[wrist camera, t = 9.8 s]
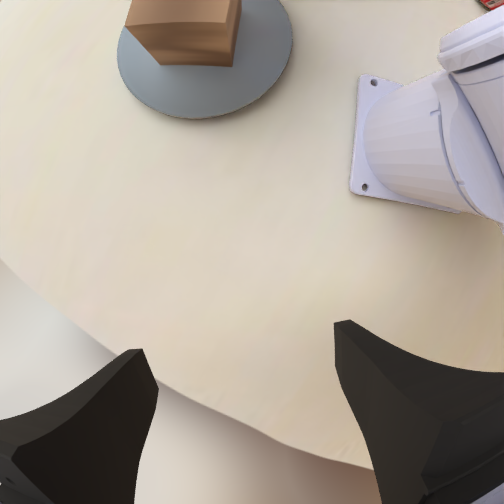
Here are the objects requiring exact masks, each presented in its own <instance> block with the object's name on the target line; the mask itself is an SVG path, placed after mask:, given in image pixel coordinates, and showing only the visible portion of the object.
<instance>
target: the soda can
mask: <svg viewBox="0 0 504 504" xmlns="http://www.w3.org/2000/svg"><path fill="white" fill-rule="evenodd" d="M479 1H480V2H481V3H482V4H484V5H485V6H486V7H488V8H489V9H491V10H494V9H496V8H498V7H500V6H502V5H504V0H479Z"/></svg>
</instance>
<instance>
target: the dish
mask: <svg viewBox="0 0 504 504" xmlns="http://www.w3.org/2000/svg"><path fill="white" fill-rule="evenodd" d="M291 47H292V28H291V23H290V20H289V17H288V15H287V13H286V11H285V9H284V7H283V6H282V5H281V3H280V2H279V1H278V0H242V11H241V17H240V23H239V28H238V34H237V40H236V46H235V53H234V59H233V65H232V67H221V66H201V65H159V64H158V62H157V61H156V60H155V59H154V58H153V57H152V56H151V55H150V54H149V52H148V51H147V50H146V49H145V48H144V47H143V46H142V45H141V44H140V43H139V41H138V40H137V39H136V38H135V37H134V36H133V35H132V34H131V33H130V32H129V31H128V30H127V28H126V27H125V25H124V27H123V30H122V32H121V35H120V38H119V42H118V48H117V62H118V68H119V71H120V74H121V77H122V79H123V81H124V83H125V85H126V86H127V88H128V89H129V90H130V92H131V93H132V94H133V95H134V96H135V97H136V98H137V99H138V100H140V101H141V102H143V103H144V104H145V105H147V106H149V107H150V108H152V109H154V110H156V111H158V112H161V113H163V114H166V115H169V116H174V117H178V118H188V119H204V118H211V117H217V116H221V115H225V114H228V113H231V112H234V111H236V110H239V109H241V108H243V107H245V106H247V105H249V104H251V103H252V102H254V101H255V100H257V99H258V98H260V97H261V96H262V95H263V94H264V93H266V92H267V91H268V90H269V89H270V88H271V87H272V86H273V85H274V83H275V82H276V81H277V79H278V78H279V77H280V75H281V74H282V72H283V70H284V68H285V66H286V64H287V61H288V58H289V55H290V52H291Z"/></svg>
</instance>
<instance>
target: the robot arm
mask: <svg viewBox="0 0 504 504" xmlns="http://www.w3.org/2000/svg"><path fill="white" fill-rule="evenodd" d="M440 51H441V52H440V53H439V54H438V55H437V59H438V61H439V62H440V64H441V65H442V66H443V68H444V69H442V70H439V71H437V72H435V73H432V74H430V75H428V76H425V77H423V78H421V79H418V80H416V81H414V82H412V83H409V84H407V85H405V86H404V85H401V84H398V83H395V82H392V81H389V80H386V79H382V78H379V77H375V76H372V75H368V74H363V75H361V76H360V77H359V79H358V93H357V109H356V123H355V135H354V146H353V156H352V165H351V174H350V182H349V188H350V191H351V192H352V193H354V194H358V195H364V196H370V197H376V198H382V199H388V200H393V201H398V202H404V203H409V204H414V205H419V206H424V207H429V208H434V209H438V210H443V211H447V212H452V213H456V214H459V213H461V212H462V211H464V212H467V213H471V214H474V215H478V216H481V217H484V218H488V219H491V220H493V221H495V222H496V223H497V224H498V225H499V227H500V229H501V231H502V234H503V235H504V5H502V6H500V7H498V8H496V9H494V10H492V11H490V12H488V13H486V14H484V15H482V16H480V17H478V18H476V19H474V20H472V21H470V22H468V23H467V24H465V25H463V26H461V27H459V28H457V29H456V30H454V31H452V32H450V33H449V34H447V35H445V36H444V37H442V38H441V39H440ZM371 81H374V82H375V85H376V86H372V84H371ZM363 184H366V185H367V189H366V191H363V190H362V185H363ZM334 339H335V367H336V371H337V374H338V377H339V381H340V384H341V387H342V390H343V392H344V394H345V396H346V398H347V401H348V403H349V405H350V407H351V409H352V411H353V413H354V416H355V418H356V420H357V422H358V424H359V426H360V429H361V431H362V433H363V436H364V438H365V441H366V444H367V447H368V451H369V454H370V457H371V461H372V464H373V468H374V472H375V475H376V479H377V483H378V487H379V492H380V496H381V500H382V504H504V373H502V372H481V371H473V370H466V369H460V368H455V367H451V366H447V365H443V364H439V363H436V362H433V361H430V360H427V359H424V358H421V357H419V356H416V355H413V354H411V353H409V352H407V351H404V350H402V349H400V348H398V347H396V346H394V345H392V344H390V343H388V342H387V341H385V340H383V339H381V338H380V337H378V336H376V335H375V334H373V333H371V332H370V331H368V330H366V329H365V328H363V327H362V326H360V325H358V324H357V323H355V322H353V321H352V320H345V321H340V322H335V323H334ZM158 390H159V388H158V386H157V383H156V381H155V379H154V376H153V374H152V372H151V369H150V367H149V364H148V362H147V359H146V357H145V354H144V352H143V349H129V350H127V351H125V352H124V353H122V354H121V355H119V356H118V357H117V358H115V359H114V360H113V361H111V362H110V363H109V364H107V365H106V366H105V367H103V368H102V369H101V370H100V371H98V372H97V373H96V374H94V375H93V376H92V377H90V378H89V379H87V380H86V381H85V382H83V383H82V384H80V385H79V386H78V387H76V388H75V389H73V390H71V391H70V392H68V393H67V394H65V395H63V396H62V397H60V398H58V399H56V400H54V401H52V402H50V403H48V404H46V405H44V406H42V407H39V408H37V409H35V410H33V411H30V412H27V413H24V414H21V415H18V416H15V417H12V418H8V419H3V420H0V483H1V485H0V504H134V498H135V488H136V480H137V473H138V467H139V461H140V457H141V453H142V450H143V447H144V444H145V441H146V438H147V435H148V431H149V428H150V425H151V422H152V419H153V416H154V413H155V409H156V403H157V397H158Z"/></svg>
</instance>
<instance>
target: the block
mask: <svg viewBox="0 0 504 504" xmlns="http://www.w3.org/2000/svg"><path fill="white" fill-rule="evenodd" d="M241 11H242V0H132V3H131V6H130V9H129V12H128V15H127V19H126V22H125V27H126V28H127V30H128V31H129V32H130V33H131V34H132V35H133V36H134V37H135V38H136V39H137V40H138V41H139V43H140V44H141V45H142V46H143V47H144V48H145V49H146V50H147V51H148V52H149V54H150V55H151V56H152V57H153V58H154V59H155V60H156V61H157V62H158V64H159V65H201V66H221V67H232V65H233V59H234V53H235V46H236V40H237V34H238V28H239V23H240V17H241Z"/></svg>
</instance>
